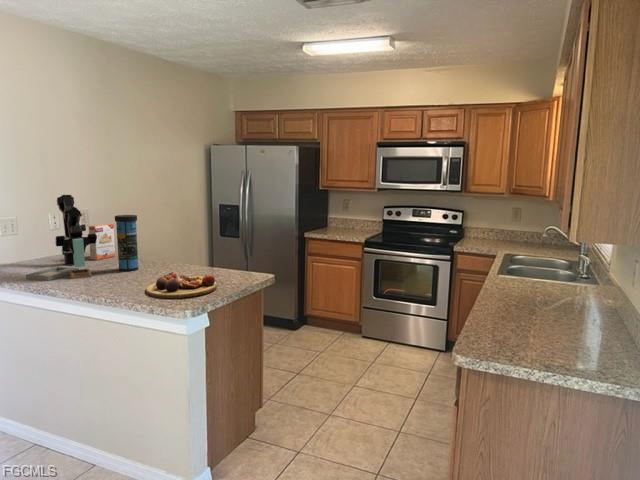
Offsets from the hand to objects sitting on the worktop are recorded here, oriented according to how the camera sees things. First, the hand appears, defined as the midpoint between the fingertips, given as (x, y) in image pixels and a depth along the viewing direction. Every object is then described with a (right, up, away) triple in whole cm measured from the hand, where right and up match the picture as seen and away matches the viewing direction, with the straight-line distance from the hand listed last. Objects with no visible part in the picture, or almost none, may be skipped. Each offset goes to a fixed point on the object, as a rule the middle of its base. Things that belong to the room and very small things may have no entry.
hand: (78, 252), depth 231 cm
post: (-1, -7, +2) cm, 7 cm away
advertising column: (+18, -10, +19) cm, 28 cm away
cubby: (-1, -12, +3) cm, 13 cm away
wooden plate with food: (+59, -17, -18) cm, 64 cm away
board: (-16, -12, +4) cm, 20 cm away
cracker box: (-11, -5, +49) cm, 50 cm away
